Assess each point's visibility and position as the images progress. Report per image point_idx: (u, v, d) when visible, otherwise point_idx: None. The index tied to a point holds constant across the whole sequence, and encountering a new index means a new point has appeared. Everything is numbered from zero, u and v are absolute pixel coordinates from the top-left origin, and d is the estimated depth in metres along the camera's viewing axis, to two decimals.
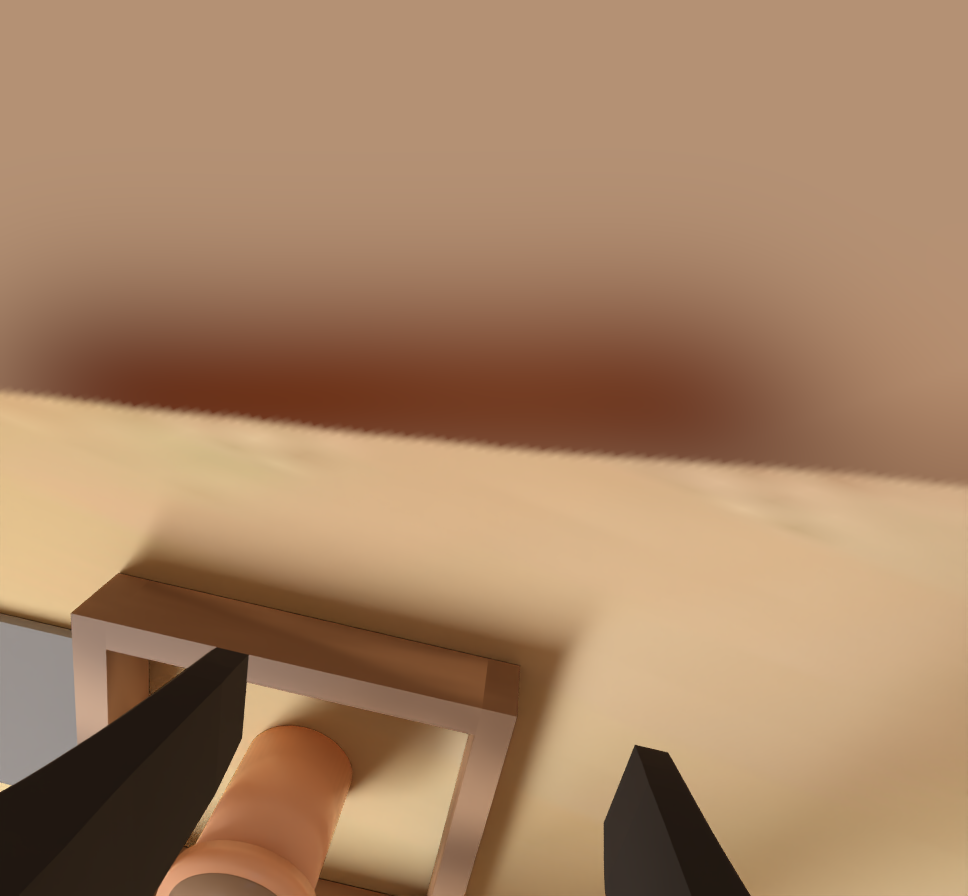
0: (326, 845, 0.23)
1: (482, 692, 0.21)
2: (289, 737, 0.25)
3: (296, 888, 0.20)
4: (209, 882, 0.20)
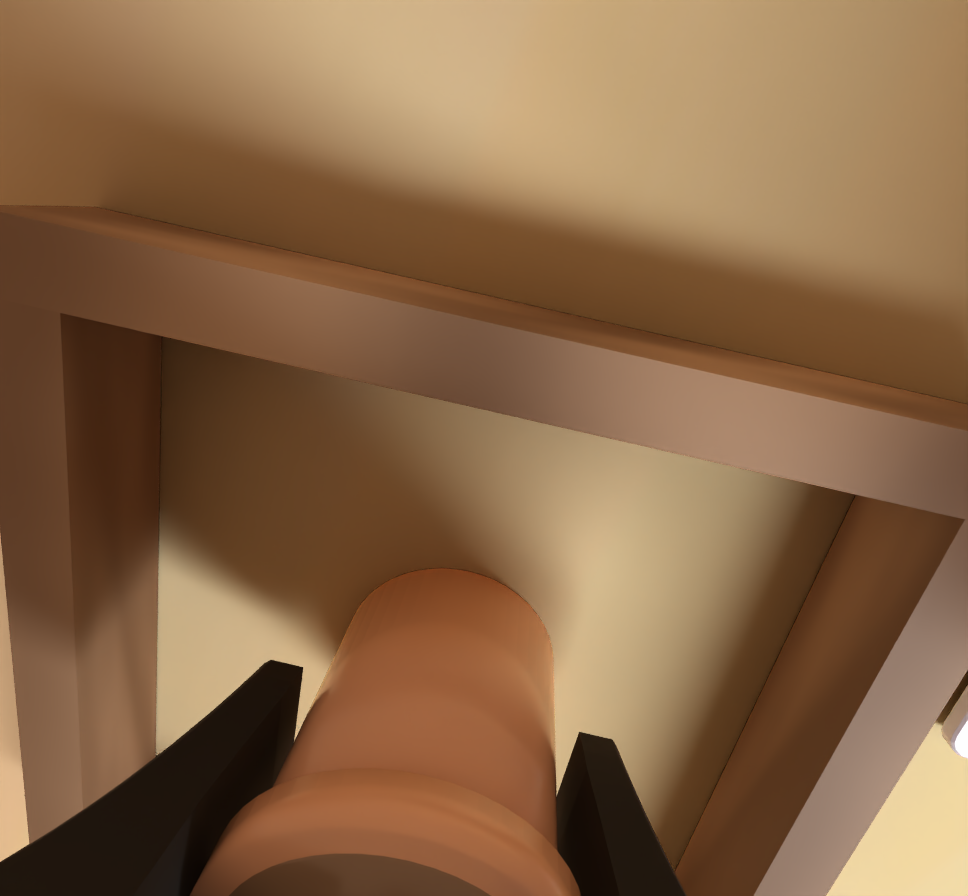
0: (420, 678, 0.10)
1: None
2: None
3: (266, 818, 0.07)
4: None
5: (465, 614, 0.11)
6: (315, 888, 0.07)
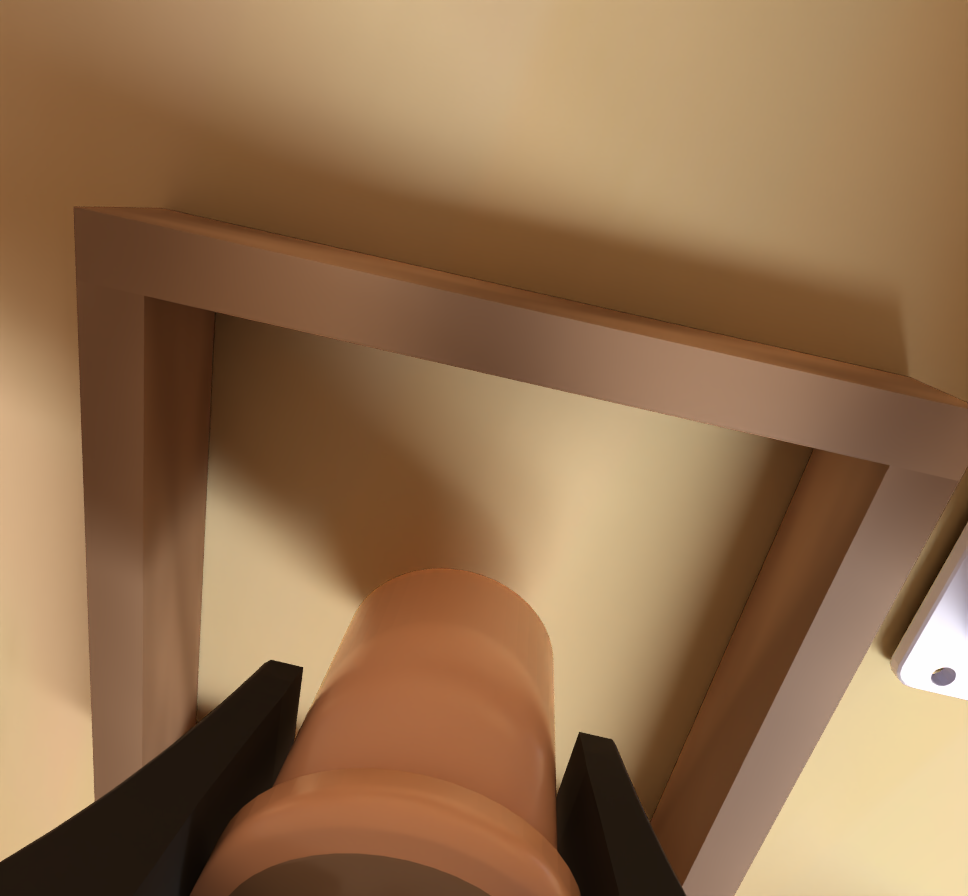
0: (420, 677, 0.10)
1: None
2: None
3: (266, 818, 0.07)
4: None
5: (465, 614, 0.11)
6: (315, 888, 0.07)
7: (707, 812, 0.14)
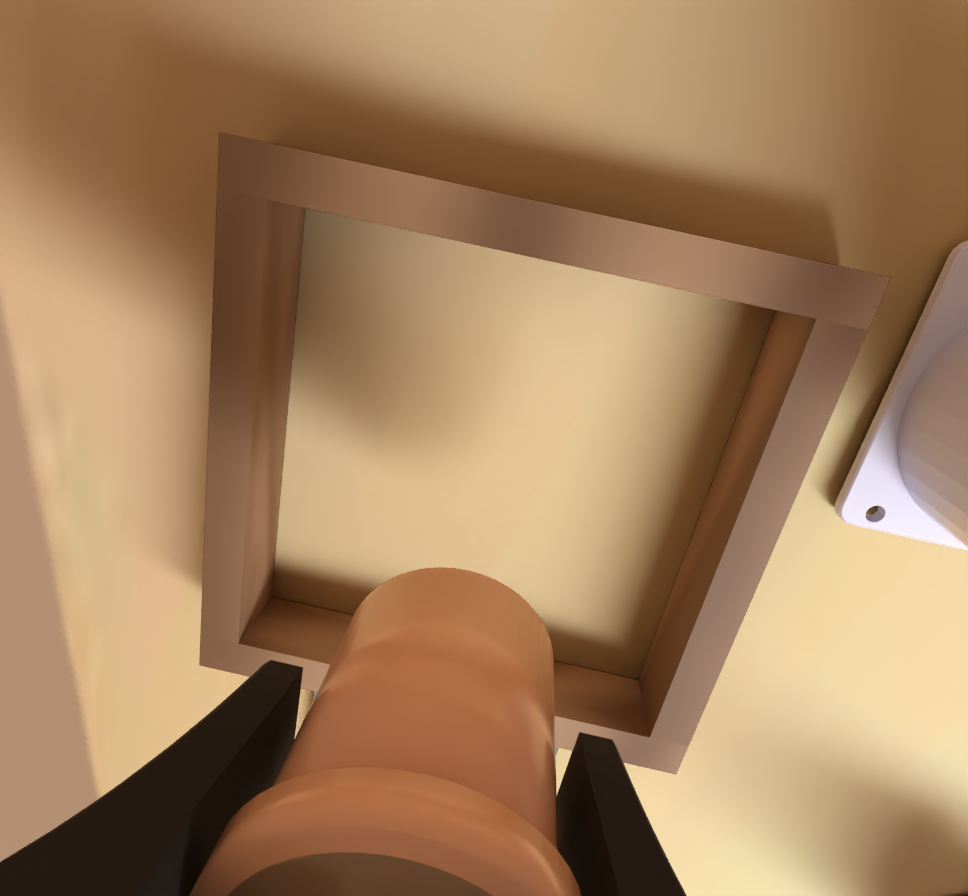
0: (420, 677, 0.10)
1: None
2: None
3: (266, 817, 0.07)
4: None
5: (465, 613, 0.11)
6: (315, 887, 0.07)
7: (689, 621, 0.18)
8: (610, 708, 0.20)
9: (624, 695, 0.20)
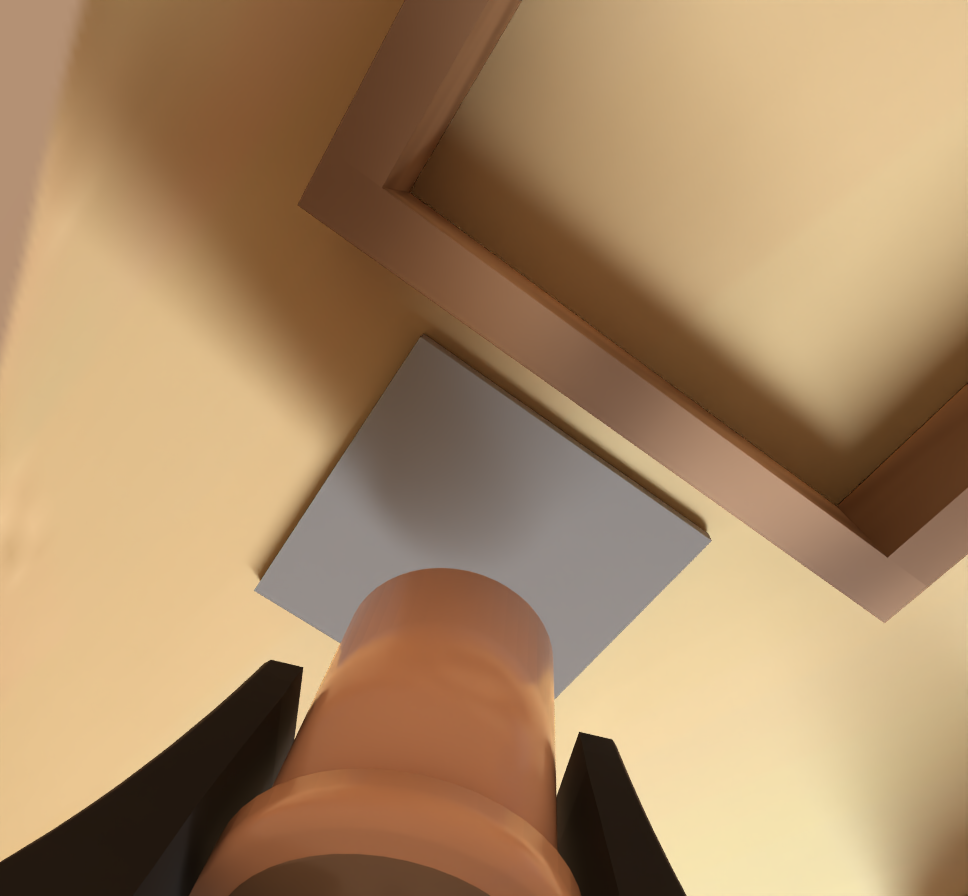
0: (419, 677, 0.10)
1: None
2: None
3: (265, 819, 0.07)
4: None
5: (465, 614, 0.11)
6: (315, 889, 0.07)
7: None
8: (831, 510, 0.14)
9: (834, 509, 0.15)
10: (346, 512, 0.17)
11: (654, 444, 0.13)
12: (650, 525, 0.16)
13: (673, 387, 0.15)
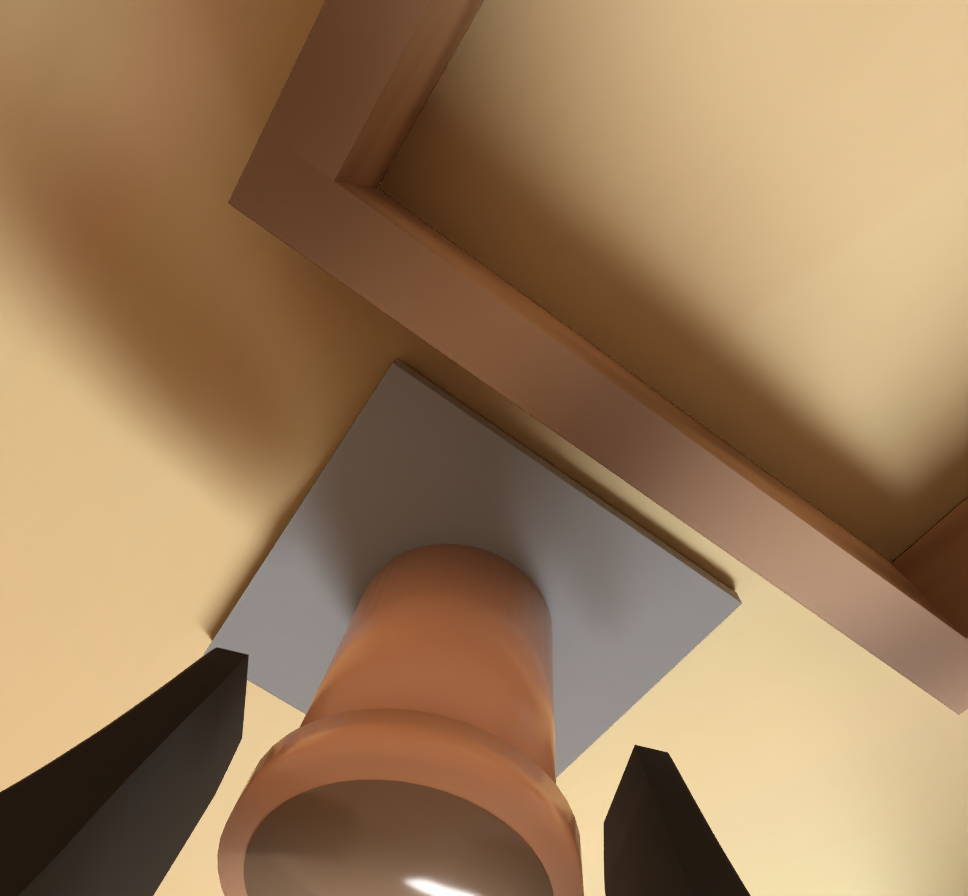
0: (430, 637, 0.11)
1: None
2: None
3: (295, 752, 0.08)
4: None
5: (470, 583, 0.12)
6: (340, 812, 0.08)
7: None
8: (893, 577, 0.11)
9: (893, 571, 0.12)
10: (309, 567, 0.14)
11: (679, 501, 0.10)
12: (668, 585, 0.13)
13: (698, 423, 0.12)
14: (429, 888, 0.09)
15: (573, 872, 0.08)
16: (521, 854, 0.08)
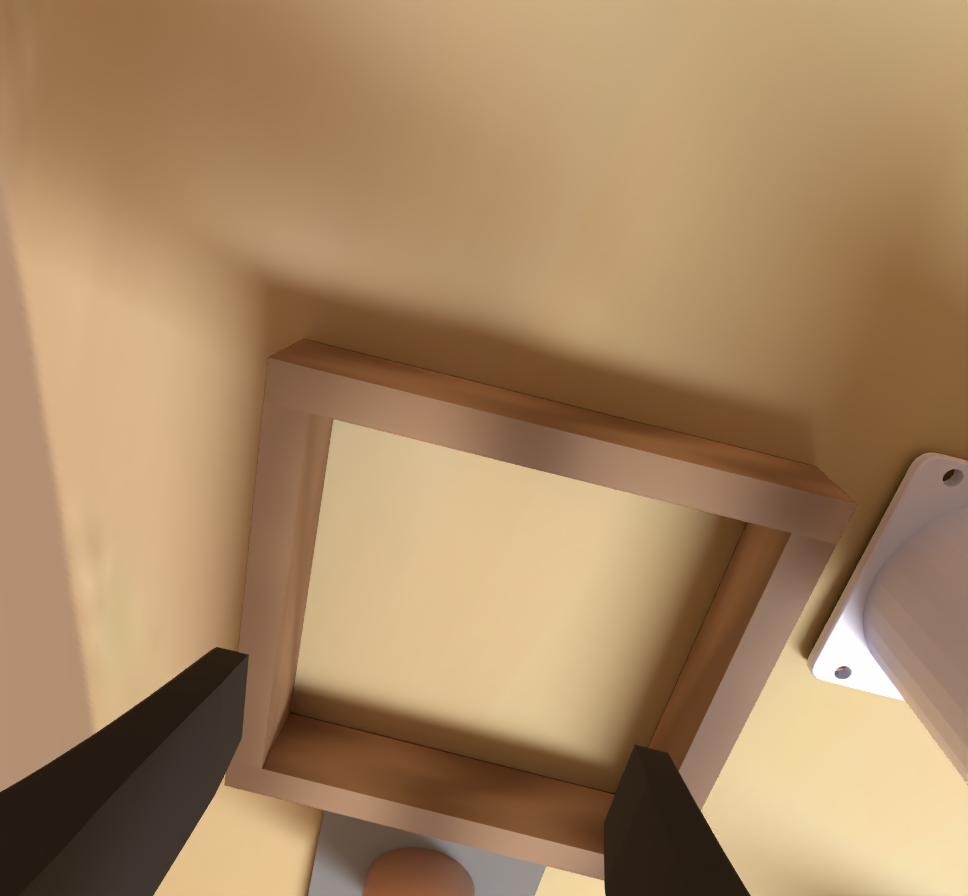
0: None
1: None
2: None
3: None
4: None
5: (403, 882, 0.23)
6: None
7: None
8: (600, 830, 0.22)
9: None
10: (334, 875, 0.26)
11: (467, 840, 0.21)
12: None
13: (487, 766, 0.23)
14: None
15: None
16: None
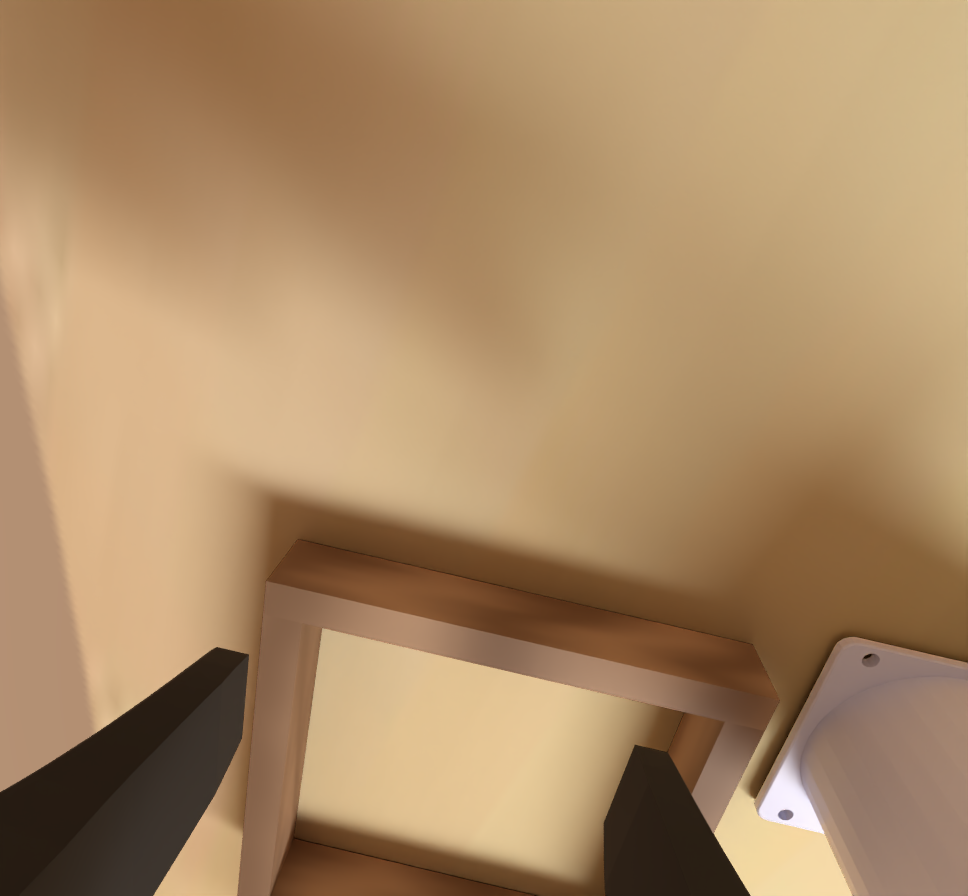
0: None
1: None
2: None
3: None
4: None
5: None
6: None
7: None
8: None
9: None
10: None
11: None
12: None
13: (472, 885, 0.25)
14: None
15: None
16: None
